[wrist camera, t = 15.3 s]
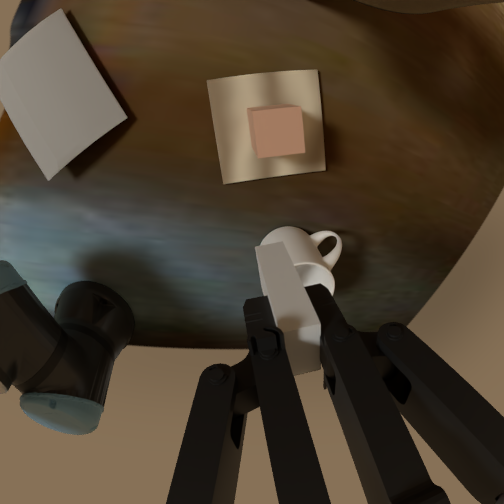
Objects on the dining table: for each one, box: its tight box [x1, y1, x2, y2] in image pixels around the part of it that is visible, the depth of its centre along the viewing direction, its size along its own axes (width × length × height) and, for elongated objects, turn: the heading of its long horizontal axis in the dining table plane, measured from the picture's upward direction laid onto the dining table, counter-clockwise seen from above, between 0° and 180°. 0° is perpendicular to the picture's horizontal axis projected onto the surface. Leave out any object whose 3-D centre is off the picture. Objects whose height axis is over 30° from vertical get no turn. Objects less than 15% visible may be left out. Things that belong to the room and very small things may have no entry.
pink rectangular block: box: [247, 104, 305, 159], centre depth 34 cm, size 5×5×7 cm
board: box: [207, 70, 326, 184], centre depth 37 cm, size 14×14×1 cm
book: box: [0, 9, 128, 181], centre depth 30 cm, size 15×23×4 cm, turn 28°
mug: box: [260, 226, 342, 296], centre depth 42 cm, size 9×12×11 cm
